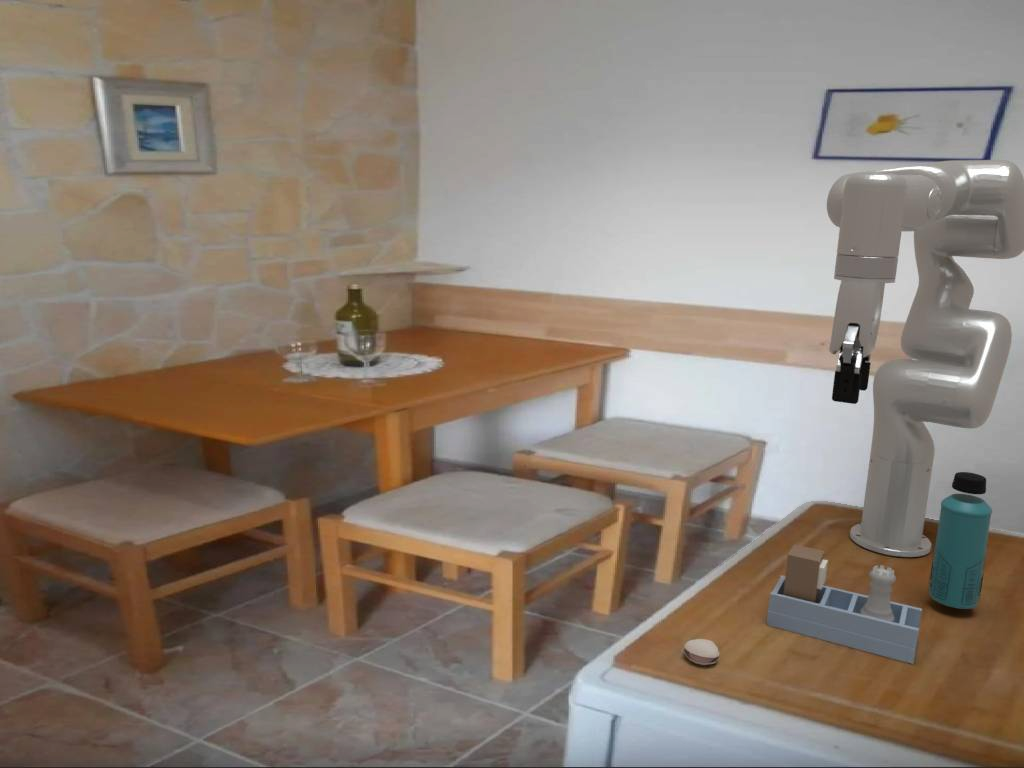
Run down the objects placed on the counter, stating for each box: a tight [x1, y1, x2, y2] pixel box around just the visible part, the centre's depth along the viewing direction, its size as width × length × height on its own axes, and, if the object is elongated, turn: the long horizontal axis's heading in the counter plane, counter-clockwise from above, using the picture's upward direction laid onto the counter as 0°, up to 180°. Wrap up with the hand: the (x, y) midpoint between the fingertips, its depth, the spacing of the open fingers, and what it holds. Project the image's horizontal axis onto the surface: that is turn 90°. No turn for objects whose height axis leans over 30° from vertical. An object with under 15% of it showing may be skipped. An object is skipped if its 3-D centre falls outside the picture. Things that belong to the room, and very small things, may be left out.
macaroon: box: [683, 638, 720, 666], centre depth 102 cm, size 4×5×2 cm
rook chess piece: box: [859, 564, 897, 622], centre depth 106 cm, size 4×4×8 cm
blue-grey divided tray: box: [766, 544, 923, 665], centre depth 108 cm, size 7×18×10 cm, turn 60°
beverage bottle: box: [927, 471, 993, 610], centre depth 115 cm, size 6×7×20 cm
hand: (849, 395), depth 112 cm, fingers open, 9 cm apart
